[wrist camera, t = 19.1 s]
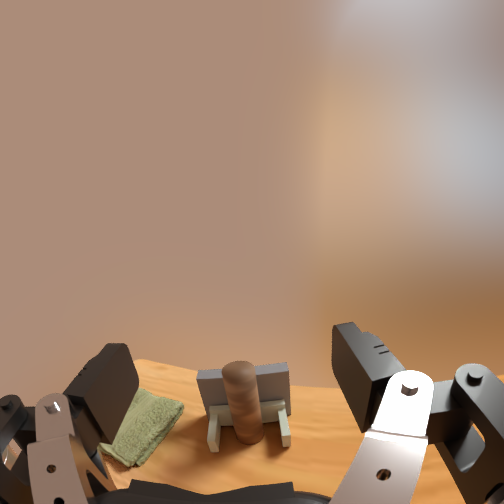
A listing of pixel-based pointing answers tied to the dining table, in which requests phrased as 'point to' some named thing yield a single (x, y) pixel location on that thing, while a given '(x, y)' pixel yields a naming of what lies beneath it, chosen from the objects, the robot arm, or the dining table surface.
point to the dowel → (243, 401)
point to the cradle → (269, 413)
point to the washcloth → (143, 428)
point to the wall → (268, 382)
